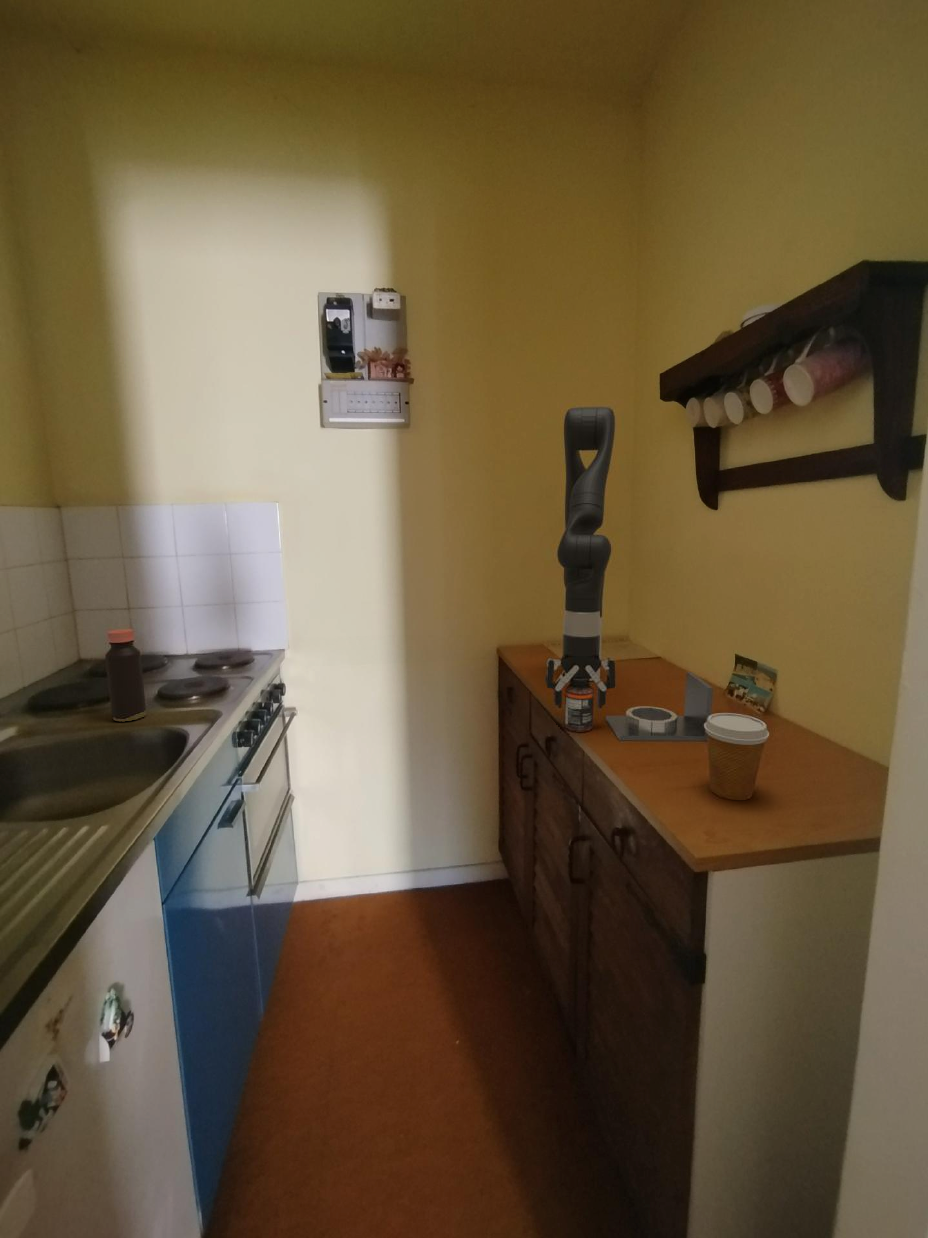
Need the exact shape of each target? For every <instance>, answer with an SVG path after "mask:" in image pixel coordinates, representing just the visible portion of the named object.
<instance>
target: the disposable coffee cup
mask: <svg viewBox="0 0 928 1238" xmlns="http://www.w3.org/2000/svg"><path fill="white" fill-rule="evenodd" d="M704 728H705V731H706V733H707V741H706V743H707V745H706V746H707V758H708V771H709V772H708V773H709V789H710V791H711V792H712V793H713V794H715V796H716V795H717V796H718V797H721V798H723V799H727V800H730V801H731V800H732V801H745V800H748V799H751V798H752V797H753V793H754V788H755V785H756V781H757V776H758V772H759V768H760V765H761V764H760V763H761V759H762V755H763V751H764V747H765V742H767V740H768V738H769V737H770V732H769V731H768V727H767V724H766V723H765V722H764V721H763V720H761V719H759V718H756V717H753V716H750V715H747V714H740V713H731V712H719V713H713V714H711V715H710V716H709V717H708V719H707V722H706V723H705V724H704Z"/></svg>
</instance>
